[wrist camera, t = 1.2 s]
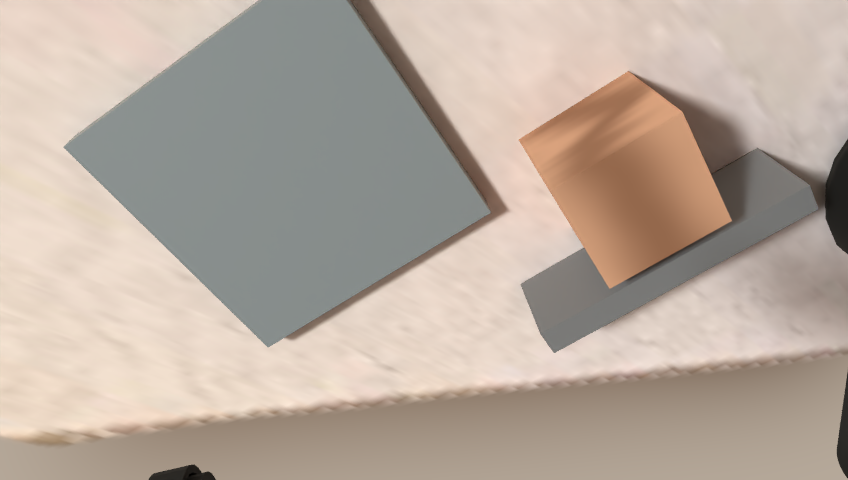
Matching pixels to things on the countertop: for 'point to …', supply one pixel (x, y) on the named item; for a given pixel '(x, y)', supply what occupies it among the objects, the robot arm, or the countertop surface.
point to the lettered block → (627, 177)
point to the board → (283, 164)
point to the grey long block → (751, 222)
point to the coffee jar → (838, 199)
